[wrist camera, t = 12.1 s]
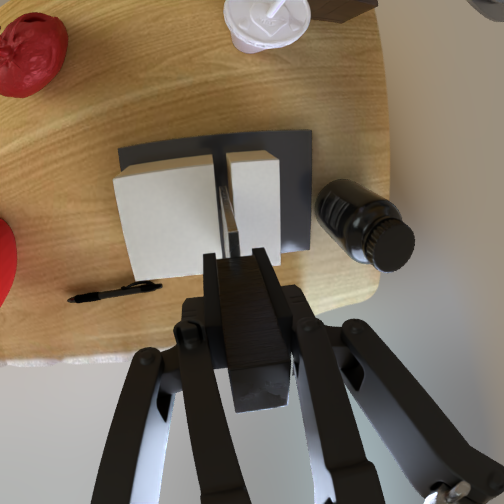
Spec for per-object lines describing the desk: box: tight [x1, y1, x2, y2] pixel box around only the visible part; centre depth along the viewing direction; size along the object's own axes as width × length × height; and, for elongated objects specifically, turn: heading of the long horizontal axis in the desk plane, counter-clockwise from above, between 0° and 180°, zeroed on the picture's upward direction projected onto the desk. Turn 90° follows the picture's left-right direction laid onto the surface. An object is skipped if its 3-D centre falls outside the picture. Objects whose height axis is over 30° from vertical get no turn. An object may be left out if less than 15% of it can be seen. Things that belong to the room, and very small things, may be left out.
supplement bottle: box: [315, 179, 415, 273], centre depth 29 cm, size 7×7×12 cm
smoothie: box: [223, 0, 311, 54], centre depth 18 cm, size 6×6×14 cm
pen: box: [67, 280, 162, 303], centre depth 34 cm, size 14×2×1 cm, turn 97°
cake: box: [113, 154, 222, 281], centre depth 28 cm, size 9×10×6 cm
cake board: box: [118, 129, 312, 258], centre depth 31 cm, size 20×14×1 cm
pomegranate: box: [0, 12, 68, 98], centre depth 16 cm, size 10×10×9 cm
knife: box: [216, 186, 291, 413], centre depth 18 cm, size 2×6×18 cm, turn 3°
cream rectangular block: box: [226, 150, 281, 266], centre depth 28 cm, size 4×10×6 cm, turn 3°
